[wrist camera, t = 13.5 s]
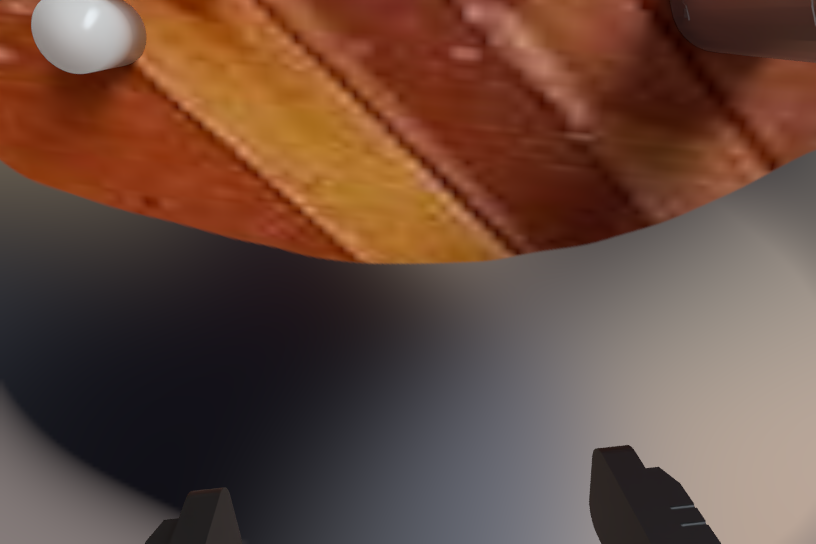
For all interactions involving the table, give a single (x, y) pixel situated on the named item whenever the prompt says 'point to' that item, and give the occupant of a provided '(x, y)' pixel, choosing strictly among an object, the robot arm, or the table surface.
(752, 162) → the table surface
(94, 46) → the white rounded capsule
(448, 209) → the table surface
